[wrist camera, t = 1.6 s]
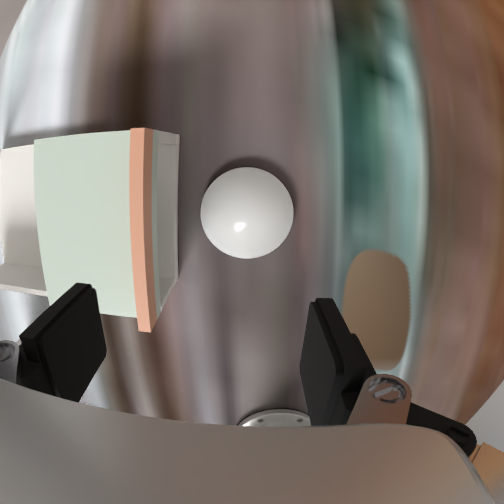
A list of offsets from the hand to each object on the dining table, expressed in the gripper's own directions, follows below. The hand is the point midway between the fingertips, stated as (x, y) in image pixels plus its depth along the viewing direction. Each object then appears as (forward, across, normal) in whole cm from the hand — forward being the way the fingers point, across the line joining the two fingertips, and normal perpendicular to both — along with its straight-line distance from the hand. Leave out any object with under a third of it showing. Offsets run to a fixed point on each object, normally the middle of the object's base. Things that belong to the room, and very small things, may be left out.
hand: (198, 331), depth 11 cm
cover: (+14, +11, 0) cm, 18 cm away
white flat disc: (+22, -2, 0) cm, 22 cm away
